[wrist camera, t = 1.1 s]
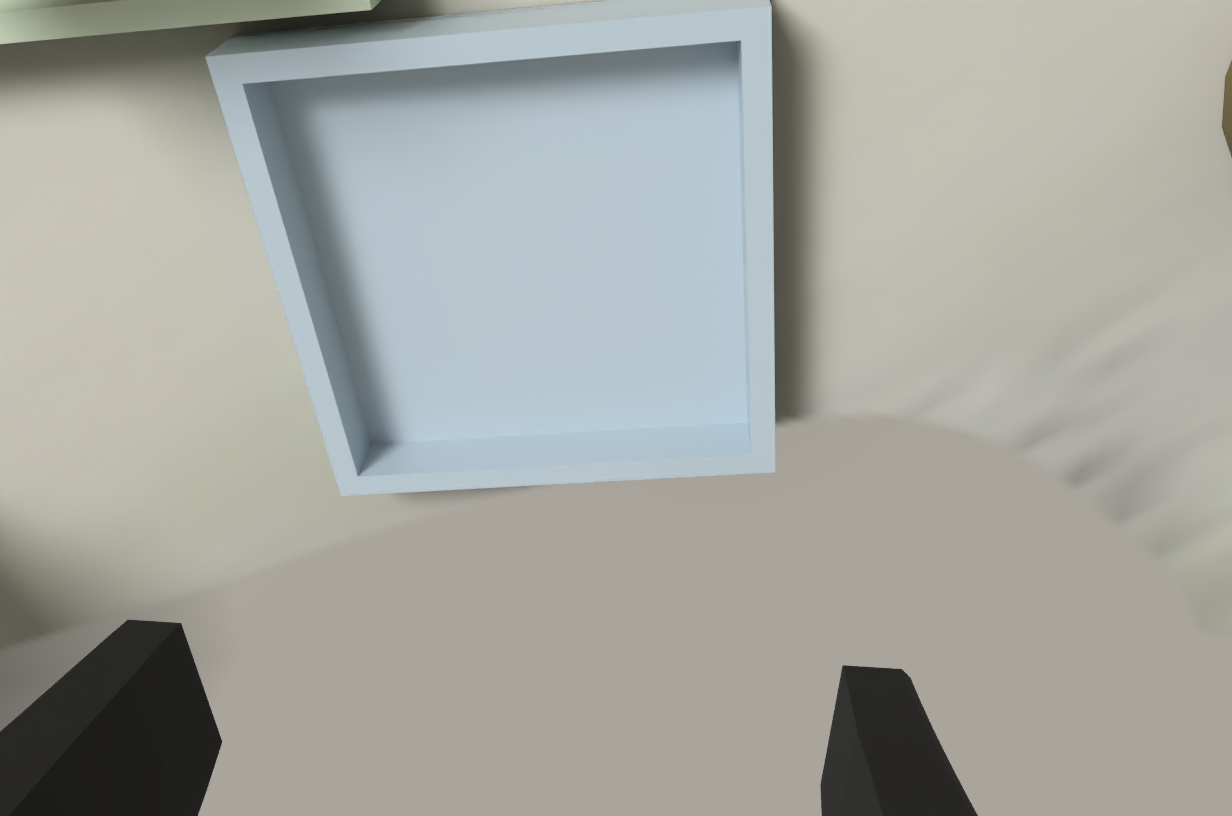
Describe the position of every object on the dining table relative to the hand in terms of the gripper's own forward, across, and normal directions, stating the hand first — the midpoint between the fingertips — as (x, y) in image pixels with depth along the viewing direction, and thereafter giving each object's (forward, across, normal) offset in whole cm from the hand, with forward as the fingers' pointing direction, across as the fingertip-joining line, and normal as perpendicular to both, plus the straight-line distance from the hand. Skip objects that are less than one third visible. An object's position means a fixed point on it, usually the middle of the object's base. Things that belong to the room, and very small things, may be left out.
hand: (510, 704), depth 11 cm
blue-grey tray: (+11, +2, 0) cm, 11 cm away
